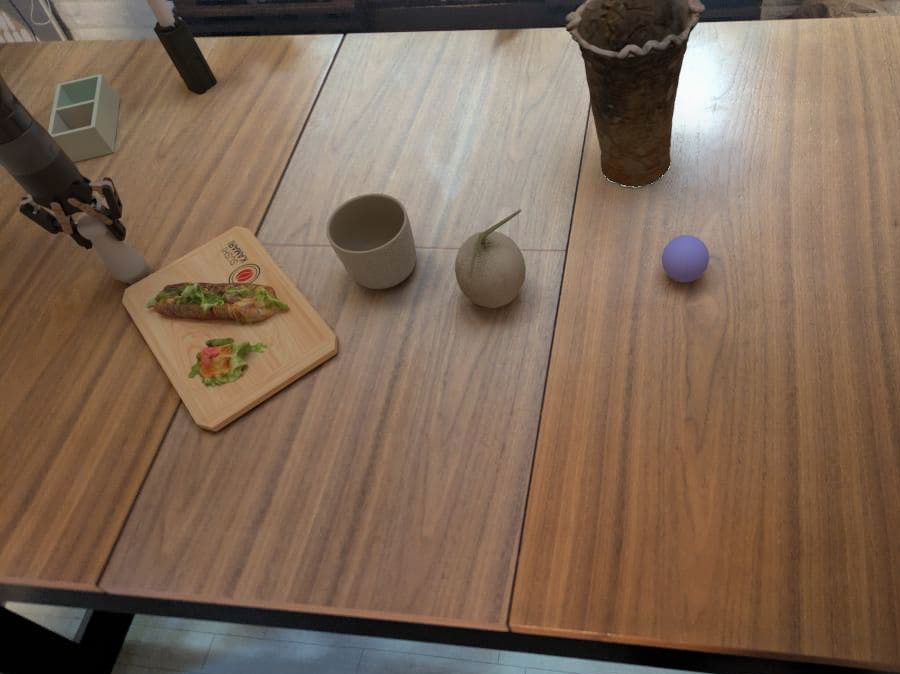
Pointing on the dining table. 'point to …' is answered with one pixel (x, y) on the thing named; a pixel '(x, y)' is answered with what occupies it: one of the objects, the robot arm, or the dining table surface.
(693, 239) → the sphere
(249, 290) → the cutting board
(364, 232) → the planter
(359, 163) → the dining table surface
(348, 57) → the dining table surface
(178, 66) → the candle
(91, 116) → the box
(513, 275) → the fruit
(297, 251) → the dining table surface
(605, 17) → the vase
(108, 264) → the salt shaker
